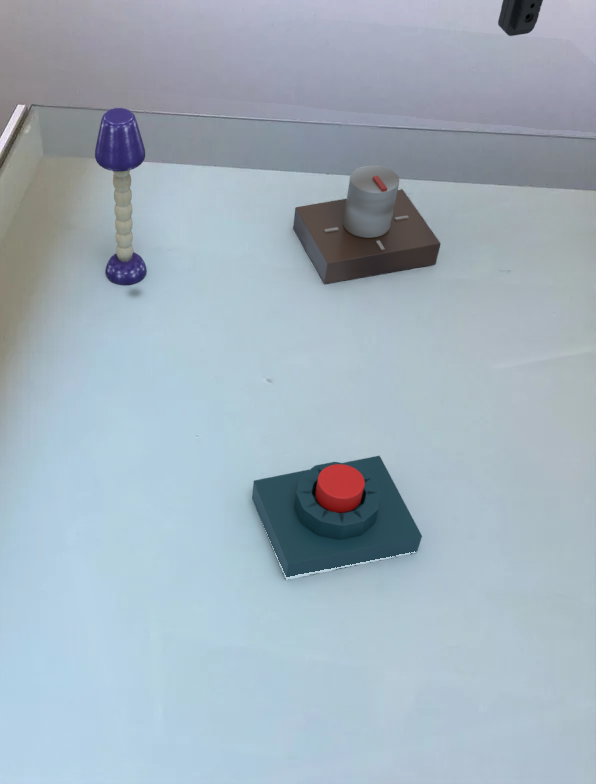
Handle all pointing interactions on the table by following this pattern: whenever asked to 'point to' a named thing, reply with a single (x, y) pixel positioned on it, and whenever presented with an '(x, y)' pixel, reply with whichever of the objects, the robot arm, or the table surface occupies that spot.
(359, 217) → the dimmer knob
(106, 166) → the toy lamp
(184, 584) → the table surface
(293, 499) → the switch block
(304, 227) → the dimmer panel
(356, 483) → the light button
